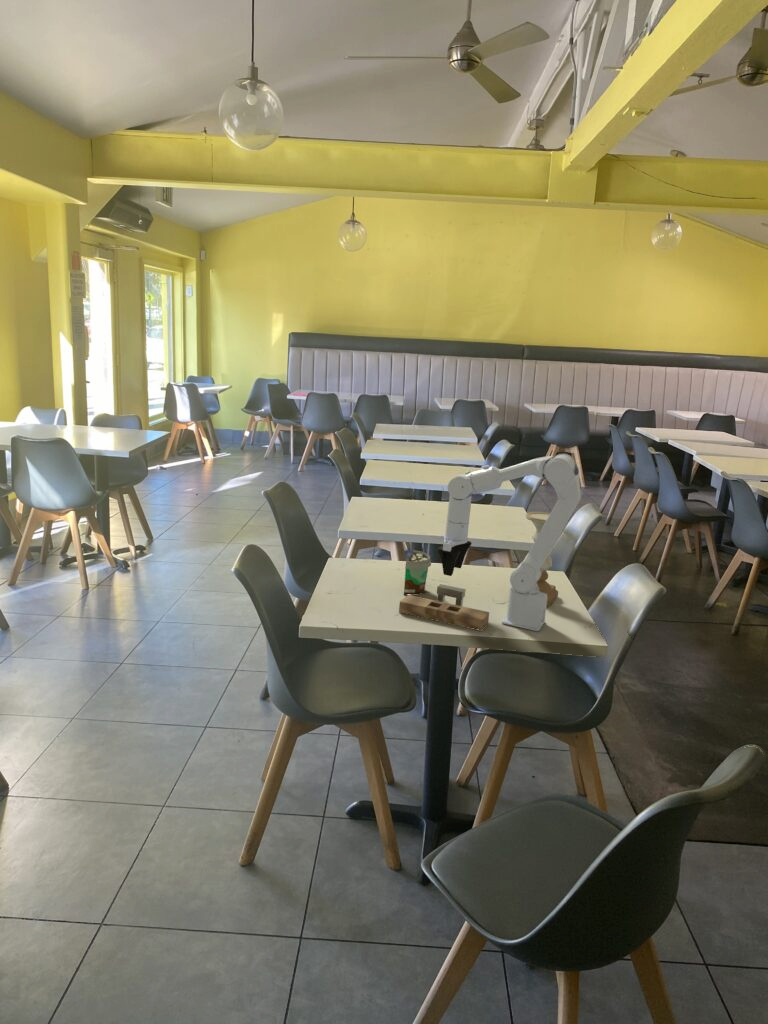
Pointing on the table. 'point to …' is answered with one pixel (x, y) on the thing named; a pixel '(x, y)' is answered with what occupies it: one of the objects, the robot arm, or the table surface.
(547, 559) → the candle holder
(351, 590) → the table surface
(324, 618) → the table surface
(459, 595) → the grey block
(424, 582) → the food container
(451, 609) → the brown slotted holder
